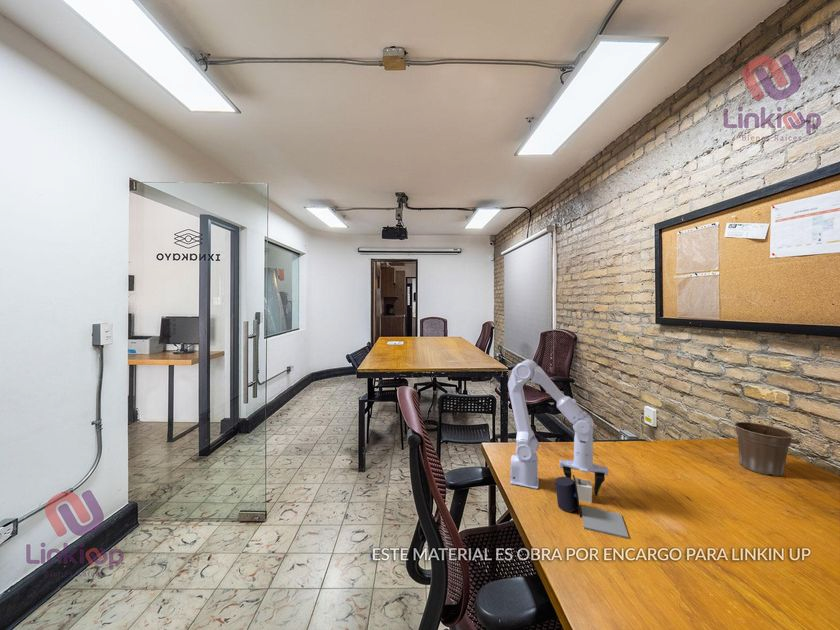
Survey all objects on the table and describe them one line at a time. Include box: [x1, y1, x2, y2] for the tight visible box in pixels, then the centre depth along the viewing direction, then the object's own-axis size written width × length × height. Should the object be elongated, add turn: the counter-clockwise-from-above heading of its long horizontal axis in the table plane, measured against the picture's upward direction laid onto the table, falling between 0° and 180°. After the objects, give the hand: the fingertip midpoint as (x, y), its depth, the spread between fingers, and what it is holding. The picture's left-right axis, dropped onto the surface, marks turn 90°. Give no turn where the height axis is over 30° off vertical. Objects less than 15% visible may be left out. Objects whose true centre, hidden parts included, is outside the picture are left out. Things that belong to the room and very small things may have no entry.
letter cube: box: [575, 477, 593, 504], centre depth 110 cm, size 5×5×5 cm
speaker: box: [554, 474, 582, 518], centre depth 104 cm, size 8×6×10 cm
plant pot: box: [734, 421, 795, 477], centre depth 130 cm, size 16×16×16 cm
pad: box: [580, 505, 630, 539], centre depth 97 cm, size 11×11×1 cm
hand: (582, 491), depth 110 cm, fingers open, 7 cm apart
